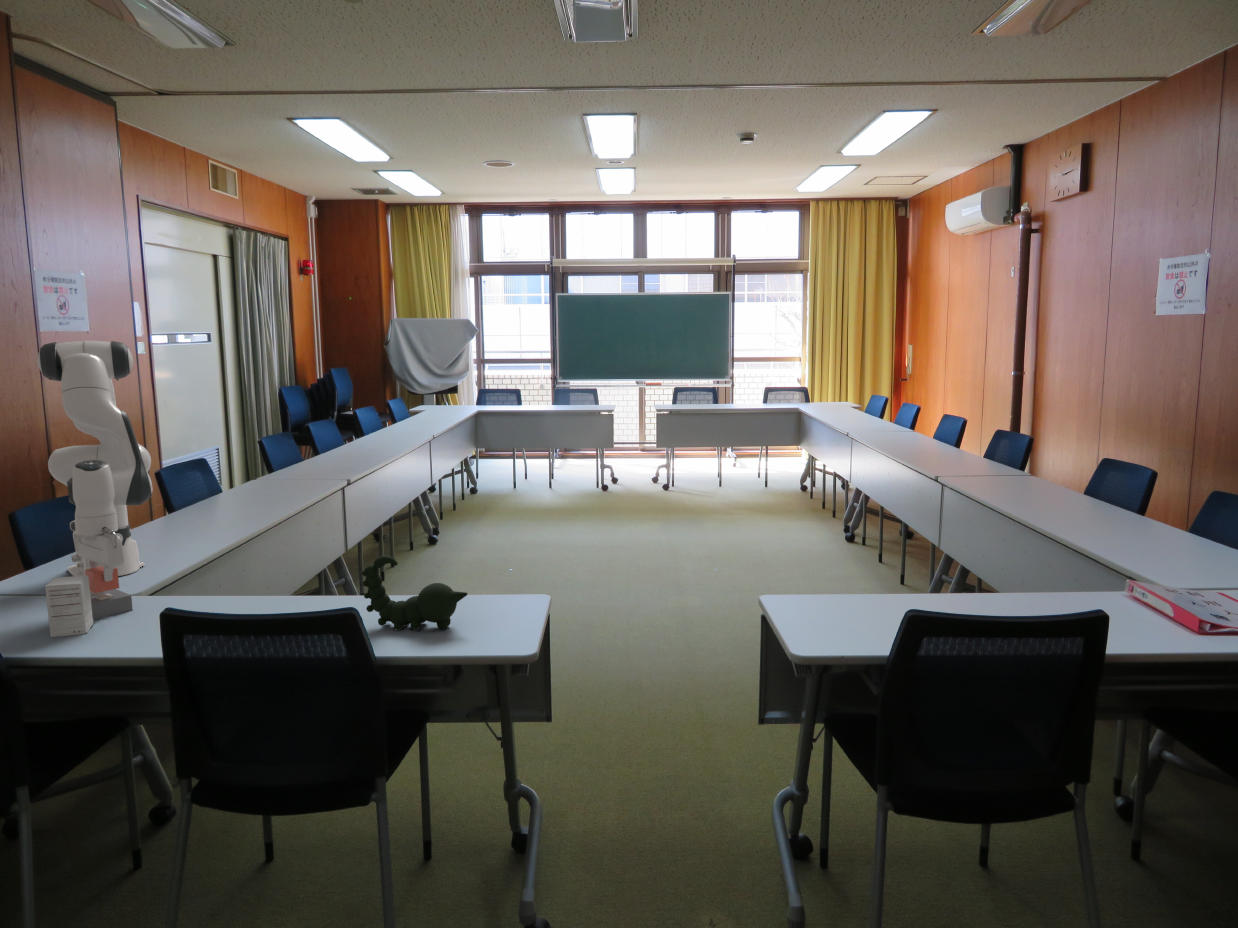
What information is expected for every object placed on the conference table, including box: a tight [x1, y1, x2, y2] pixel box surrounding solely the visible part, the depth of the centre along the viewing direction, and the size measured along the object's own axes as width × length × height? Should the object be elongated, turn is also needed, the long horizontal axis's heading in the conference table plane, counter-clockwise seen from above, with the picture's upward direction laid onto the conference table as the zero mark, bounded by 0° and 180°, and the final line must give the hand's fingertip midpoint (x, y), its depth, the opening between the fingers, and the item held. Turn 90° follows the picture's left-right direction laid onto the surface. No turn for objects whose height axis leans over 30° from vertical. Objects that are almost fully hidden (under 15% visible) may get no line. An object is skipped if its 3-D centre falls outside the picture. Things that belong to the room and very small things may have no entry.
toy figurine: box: [361, 555, 468, 632], centre depth 192 cm, size 9×19×25 cm
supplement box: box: [44, 575, 94, 638], centre depth 190 cm, size 7×7×13 cm
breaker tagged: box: [95, 593, 113, 601], centre depth 204 cm, size 3×3×4 cm
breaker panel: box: [90, 588, 134, 621], centre depth 206 cm, size 13×10×4 cm
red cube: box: [85, 566, 120, 593], centre depth 203 cm, size 5×5×5 cm
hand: (102, 578), depth 203 cm, fingers closed on red cube, 5 cm apart
